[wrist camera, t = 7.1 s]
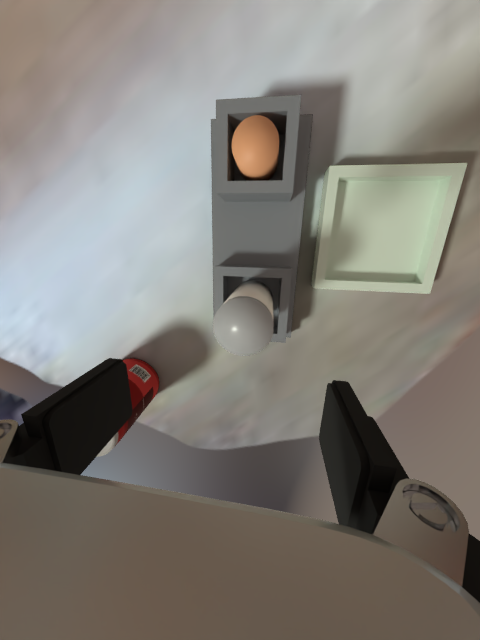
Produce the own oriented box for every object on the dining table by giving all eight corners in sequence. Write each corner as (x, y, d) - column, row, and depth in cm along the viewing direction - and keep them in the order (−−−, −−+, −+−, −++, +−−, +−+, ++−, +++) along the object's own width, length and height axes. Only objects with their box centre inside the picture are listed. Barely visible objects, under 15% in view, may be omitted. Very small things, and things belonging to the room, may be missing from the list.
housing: (214, 126, 24) (198, 93, 19) (310, 122, 23) (321, 85, 18) (216, 328, 31) (205, 344, 26) (289, 333, 30) (293, 351, 25)
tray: (324, 173, 24) (329, 165, 22) (448, 171, 22) (467, 162, 20) (310, 285, 28) (314, 288, 25) (416, 290, 26) (429, 293, 24)
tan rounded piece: (238, 138, 22) (231, 116, 18) (279, 137, 22) (281, 113, 18) (238, 184, 23) (231, 172, 20) (276, 184, 23) (277, 171, 19)
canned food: (110, 355, 35) (41, 399, 25) (158, 358, 34) (107, 406, 24) (118, 396, 37) (59, 453, 27) (163, 400, 36) (120, 461, 26)
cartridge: (233, 279, 27) (212, 296, 18) (274, 281, 27) (275, 299, 17) (232, 318, 29) (213, 353, 19) (271, 321, 28) (271, 358, 19)
